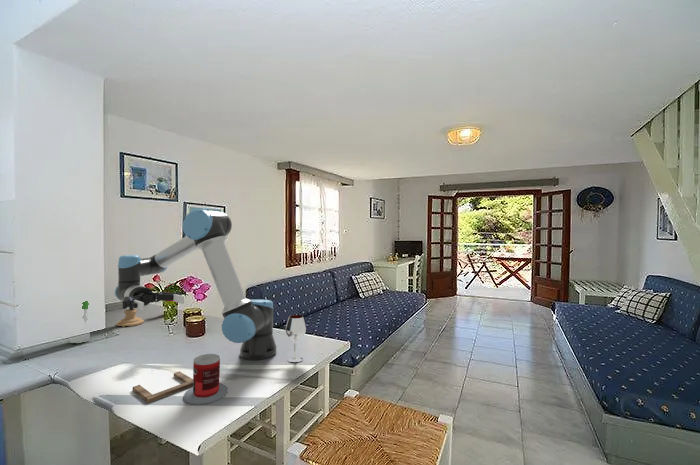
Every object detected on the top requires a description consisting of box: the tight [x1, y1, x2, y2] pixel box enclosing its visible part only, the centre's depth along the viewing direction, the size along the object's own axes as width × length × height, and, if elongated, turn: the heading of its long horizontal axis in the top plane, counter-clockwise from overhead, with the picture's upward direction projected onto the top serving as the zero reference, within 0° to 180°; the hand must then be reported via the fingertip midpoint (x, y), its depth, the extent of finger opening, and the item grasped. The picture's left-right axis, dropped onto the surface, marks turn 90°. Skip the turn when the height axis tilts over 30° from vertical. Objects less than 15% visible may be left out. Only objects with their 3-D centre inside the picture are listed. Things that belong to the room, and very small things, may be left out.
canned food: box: [192, 353, 221, 397], centre depth 104 cm, size 8×8×11 cm
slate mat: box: [183, 382, 229, 406], centre depth 104 cm, size 13×13×1 cm
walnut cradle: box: [132, 371, 193, 404], centre depth 107 cm, size 12×15×1 cm
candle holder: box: [116, 307, 144, 328], centre depth 175 cm, size 12×12×20 cm
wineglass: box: [285, 314, 307, 360], centre depth 132 cm, size 8×8×18 cm
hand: (163, 303), depth 115 cm, fingers open, 13 cm apart
